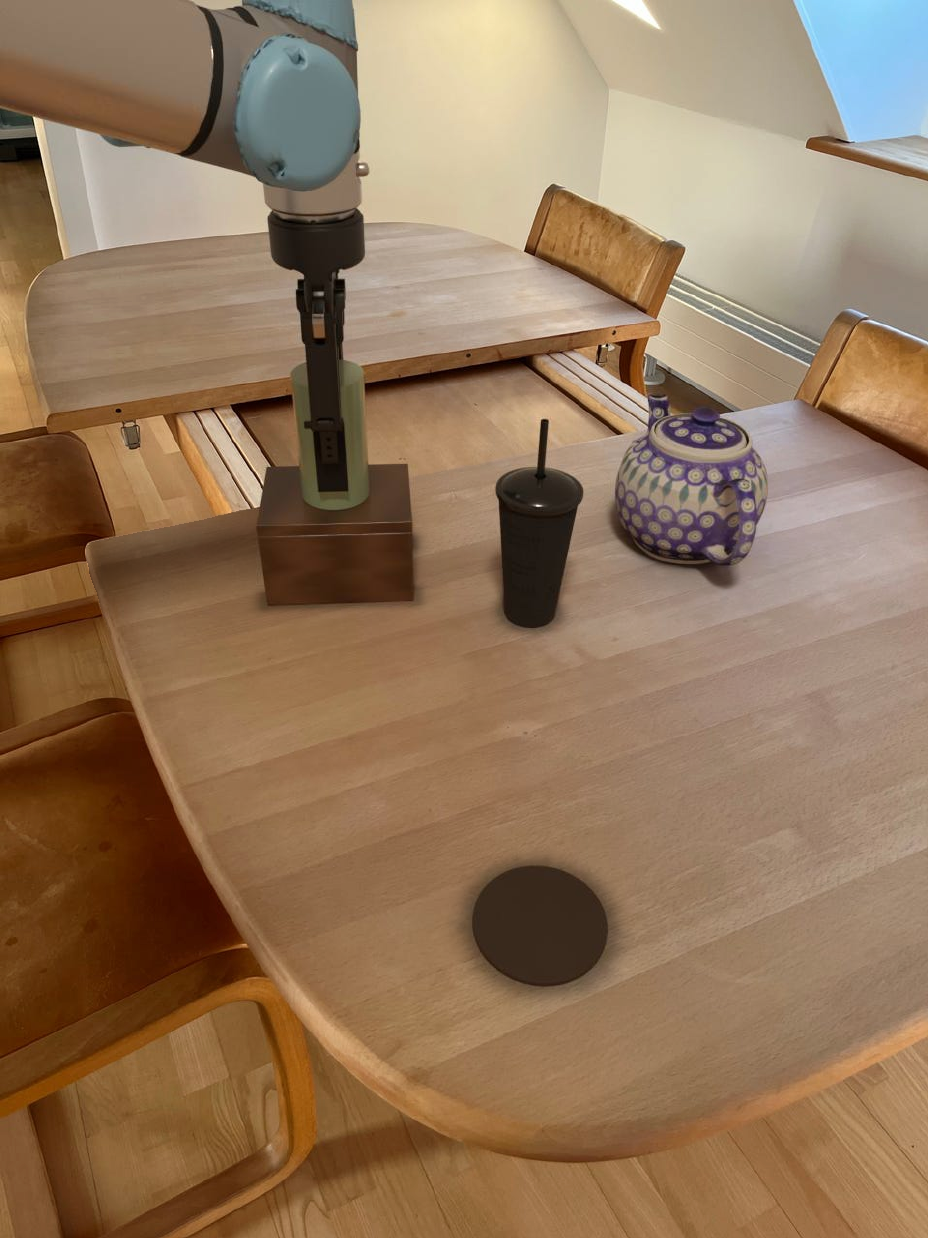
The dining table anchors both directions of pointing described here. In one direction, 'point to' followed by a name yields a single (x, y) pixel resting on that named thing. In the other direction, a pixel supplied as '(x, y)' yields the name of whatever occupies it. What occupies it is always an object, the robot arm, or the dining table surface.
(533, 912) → the coaster
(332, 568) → the walnut chest
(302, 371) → the canister
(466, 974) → the dining table surface
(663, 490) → the teapot
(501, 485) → the drinking cup
